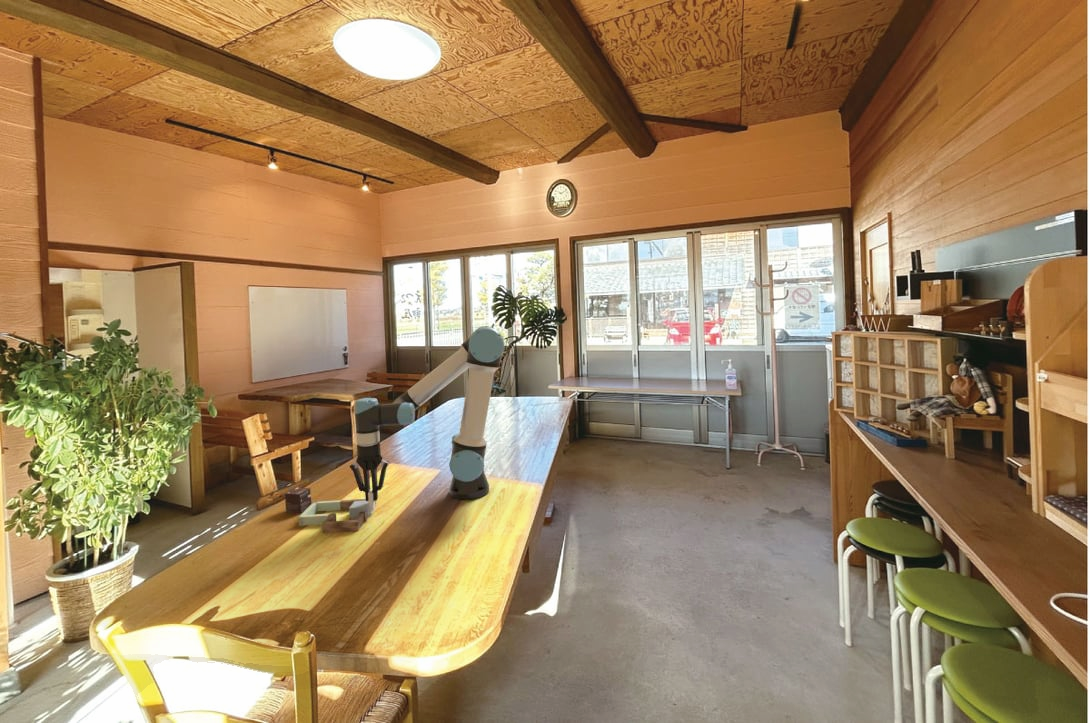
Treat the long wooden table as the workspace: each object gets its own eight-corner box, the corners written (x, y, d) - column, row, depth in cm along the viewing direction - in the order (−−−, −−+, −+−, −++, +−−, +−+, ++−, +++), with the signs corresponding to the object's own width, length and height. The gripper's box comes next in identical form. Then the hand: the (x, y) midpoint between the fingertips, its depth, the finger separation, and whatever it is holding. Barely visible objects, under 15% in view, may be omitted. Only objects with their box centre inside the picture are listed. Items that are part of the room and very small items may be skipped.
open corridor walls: (376, 506, 169) (375, 498, 169) (359, 530, 150) (359, 521, 149) (341, 508, 168) (341, 500, 168) (321, 533, 149) (320, 524, 148)
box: (300, 514, 164) (298, 494, 163) (285, 513, 165) (283, 493, 164) (312, 507, 170) (310, 488, 169) (297, 506, 171) (296, 487, 170)
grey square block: (372, 511, 165) (372, 500, 165) (368, 518, 159) (367, 507, 159) (355, 512, 165) (354, 501, 164) (349, 519, 159) (349, 508, 159)
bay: (341, 508, 168) (341, 500, 168) (328, 524, 155) (328, 515, 155) (314, 509, 167) (313, 501, 167) (298, 526, 154) (298, 517, 154)
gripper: (390, 439, 164) (394, 504, 167) (352, 441, 163) (356, 506, 166) (385, 445, 157) (389, 512, 159) (345, 447, 156) (349, 515, 158)
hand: (372, 509), depth 162 cm, fingers closed
